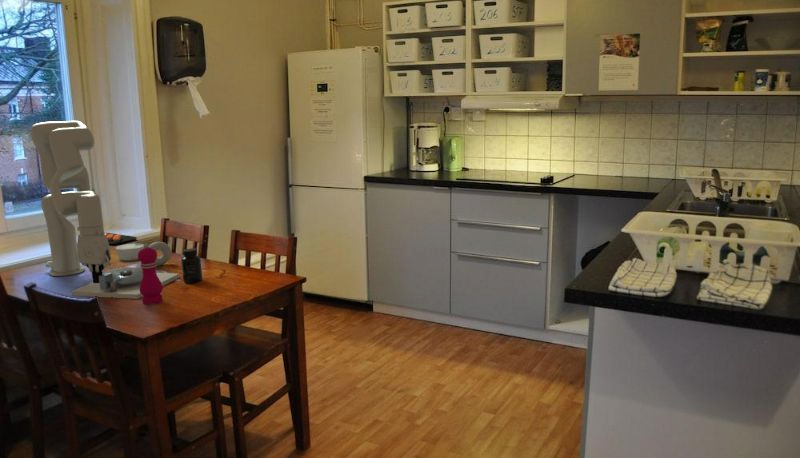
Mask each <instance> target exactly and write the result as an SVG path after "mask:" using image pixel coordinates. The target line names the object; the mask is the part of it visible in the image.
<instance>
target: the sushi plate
mask: <svg viewBox="0 0 800 458" xmlns="http://www.w3.org/2000/svg"><path fill="white" fill-rule="evenodd" d="M104 234H106V236H107V239H108V243H109V245H119V244H124V243H128V242H130V241H134V240H136V239H137V236H134V235H133V236H132V235H125V234H120V233H119V234H118V233H113V232H108V231H107V232H105V231H104Z"/></svg>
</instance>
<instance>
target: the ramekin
mask: <svg viewBox="0 0 800 458" xmlns="http://www.w3.org/2000/svg"><path fill="white" fill-rule="evenodd" d="M143 248H144V244H143V243H126V244H121V245H118V246H115V251H116V253H117V256H118V259H119V260H120V261H123V262H124V261H125V262H127V261H128V262H129V261H130V262H131V261H137V260H139V259H138V252H139V251H140V250H141V249H143Z"/></svg>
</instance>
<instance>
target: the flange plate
mask: <svg viewBox="0 0 800 458" xmlns="http://www.w3.org/2000/svg"><path fill="white" fill-rule="evenodd" d="M142 278H143V270H142V268H141V267H126V268H120V269H119V268H118V269H115V270H112V271H111V270H110V271H108V272H104V273H102V275H100V276H99V283H100V289H107V288H109V287H110V285H109V282H110V281H115V282H116V285H128V284H134V283H139V282H141V281H142Z"/></svg>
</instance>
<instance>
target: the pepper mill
mask: <svg viewBox="0 0 800 458" xmlns="http://www.w3.org/2000/svg"><path fill="white" fill-rule="evenodd" d="M143 245H144V248H143V249H141V250H140V251H139V252H138V259H137V260H138V261H140V268H142V270H143V278H142V281H141V284H140V293H141V294H142V295H143V296H142V297H141V300H142V303H143V304H144V305H156V304H159V303H161V302H162V301H163V295H162V292H163V290H164V286H162V283H161V281H160V280H159V278H158V276H157V274H156V273H157V271H156V267H157V264H156V261H155V260H156V258H158V253H157V251H155V250H154V249H153V248H149V245H150V243H144V244H143Z"/></svg>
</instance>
